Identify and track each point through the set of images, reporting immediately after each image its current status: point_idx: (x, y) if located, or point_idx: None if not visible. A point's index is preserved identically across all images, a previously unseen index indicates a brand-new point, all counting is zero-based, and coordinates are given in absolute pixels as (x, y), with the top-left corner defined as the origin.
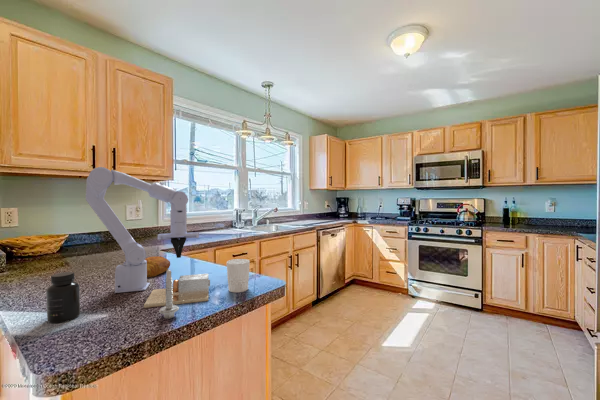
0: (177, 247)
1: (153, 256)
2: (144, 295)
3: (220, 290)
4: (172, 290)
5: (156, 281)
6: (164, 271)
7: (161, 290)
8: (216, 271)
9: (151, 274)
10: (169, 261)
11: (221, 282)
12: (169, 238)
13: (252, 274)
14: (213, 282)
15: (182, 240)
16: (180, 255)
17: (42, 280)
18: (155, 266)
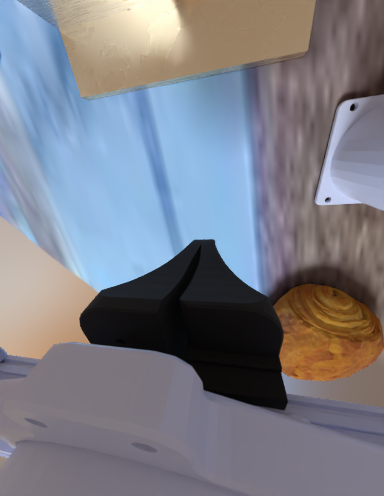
0: (198, 268)
1: (320, 377)
2: (347, 4)
3: (24, 32)
4: (211, 7)
5: (289, 230)
6: None
7: (266, 18)
8: (126, 280)
9: (309, 286)
10: None
11: (69, 159)
12: (308, 405)
13: (17, 225)
14: (95, 166)
15: (108, 300)
16: (190, 243)
17: None
18: (305, 311)
